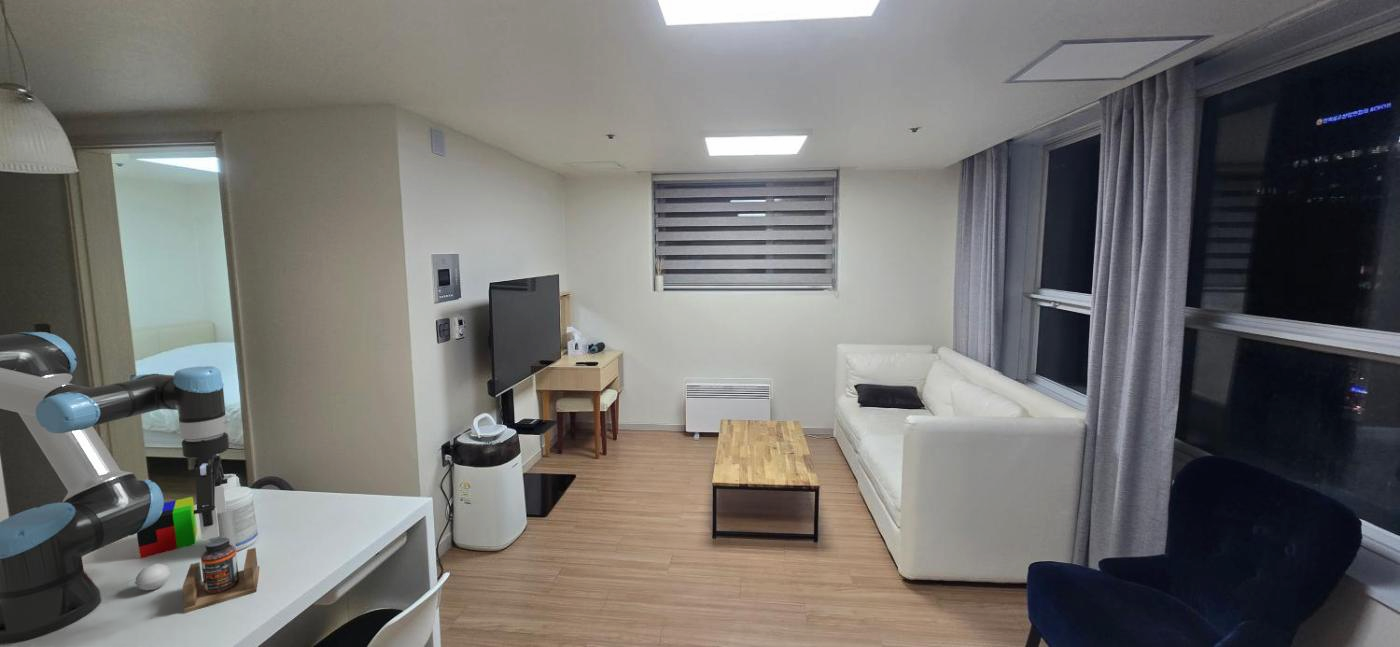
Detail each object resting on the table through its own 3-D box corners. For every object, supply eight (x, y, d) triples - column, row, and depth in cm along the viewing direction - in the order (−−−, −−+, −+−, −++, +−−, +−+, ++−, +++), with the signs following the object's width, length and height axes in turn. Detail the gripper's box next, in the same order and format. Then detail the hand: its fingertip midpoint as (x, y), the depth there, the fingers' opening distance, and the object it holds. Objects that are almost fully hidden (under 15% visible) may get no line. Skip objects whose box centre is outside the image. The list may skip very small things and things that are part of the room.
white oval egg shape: (177, 578, 124) (174, 556, 123) (162, 592, 119) (159, 570, 118) (136, 585, 122) (132, 563, 121) (118, 600, 116) (115, 576, 116)
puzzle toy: (145, 542, 140) (140, 507, 138) (197, 529, 146) (192, 496, 145) (140, 558, 132) (135, 522, 131) (194, 544, 139) (190, 509, 137)
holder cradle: (184, 613, 112) (180, 587, 111) (192, 587, 121) (189, 563, 120) (256, 591, 119) (253, 567, 119) (259, 568, 128) (257, 546, 127)
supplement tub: (258, 532, 145) (253, 482, 143) (258, 547, 138) (251, 495, 136) (211, 544, 139) (205, 492, 137) (208, 560, 131) (201, 506, 130)
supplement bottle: (203, 598, 116) (197, 551, 114) (206, 585, 120) (200, 540, 119) (239, 587, 119) (233, 542, 118) (240, 575, 124) (234, 531, 122)
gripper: (220, 449, 108) (230, 544, 110) (233, 418, 127) (241, 499, 130) (169, 457, 103) (181, 555, 106) (191, 423, 123) (200, 507, 126)
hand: (214, 524), depth 118 cm, fingers open, 13 cm apart
